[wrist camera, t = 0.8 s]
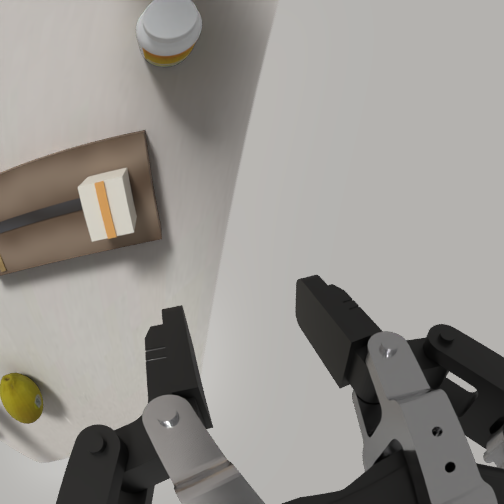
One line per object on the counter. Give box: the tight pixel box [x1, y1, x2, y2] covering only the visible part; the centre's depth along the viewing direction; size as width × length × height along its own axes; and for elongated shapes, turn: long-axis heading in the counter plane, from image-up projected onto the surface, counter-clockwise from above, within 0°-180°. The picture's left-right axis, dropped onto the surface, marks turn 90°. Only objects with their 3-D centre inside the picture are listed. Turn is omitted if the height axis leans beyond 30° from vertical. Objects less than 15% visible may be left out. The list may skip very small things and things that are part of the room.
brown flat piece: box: [0, 130, 162, 275], centre depth 25 cm, size 11×24×3 cm, turn 94°
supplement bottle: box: [136, 0, 202, 67], centre depth 19 cm, size 5×5×10 cm
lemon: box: [0, 373, 43, 424], centre depth 32 cm, size 11×8×8 cm
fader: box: [78, 168, 137, 242], centre depth 24 cm, size 5×4×4 cm
